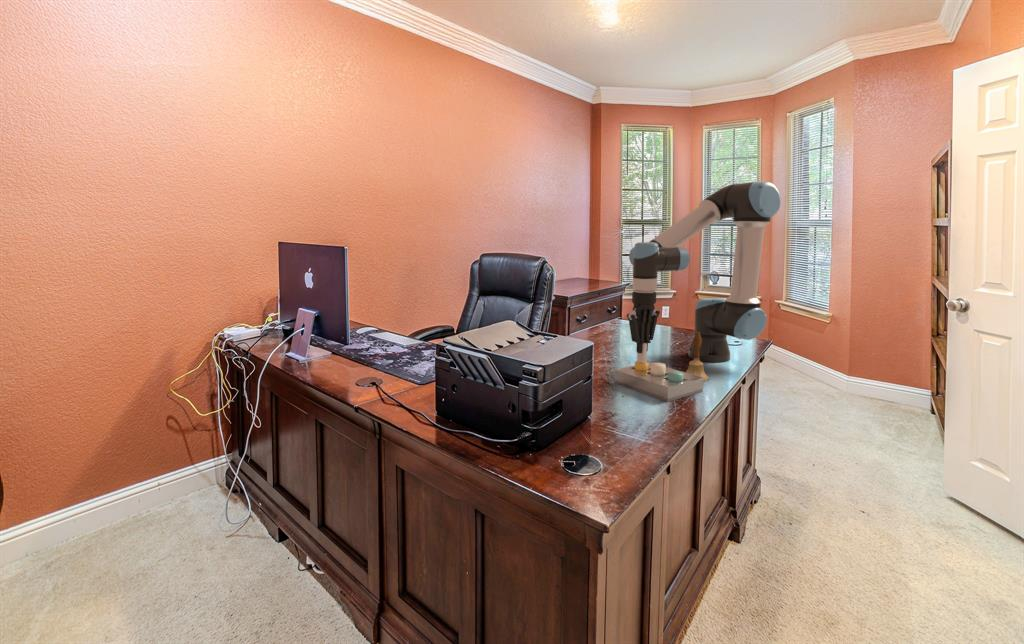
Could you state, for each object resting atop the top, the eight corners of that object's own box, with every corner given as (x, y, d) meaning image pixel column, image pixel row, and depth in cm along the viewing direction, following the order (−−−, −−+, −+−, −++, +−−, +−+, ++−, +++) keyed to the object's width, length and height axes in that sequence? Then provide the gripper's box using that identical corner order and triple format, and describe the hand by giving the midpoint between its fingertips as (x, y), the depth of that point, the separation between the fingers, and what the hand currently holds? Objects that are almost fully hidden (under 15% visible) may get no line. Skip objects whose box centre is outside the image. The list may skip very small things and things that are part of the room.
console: (648, 374, 176) (649, 362, 175) (702, 391, 158) (703, 377, 157) (614, 382, 168) (615, 369, 167) (667, 402, 150) (668, 387, 149)
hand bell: (710, 382, 167) (713, 335, 164) (684, 381, 169) (686, 334, 166) (706, 374, 175) (708, 329, 172) (680, 373, 177) (683, 329, 174)
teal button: (674, 383, 160) (674, 369, 159) (686, 387, 156) (687, 373, 155) (664, 386, 157) (664, 372, 156) (676, 390, 154) (676, 376, 153)
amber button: (640, 373, 171) (641, 360, 171) (651, 376, 168) (651, 363, 167) (631, 375, 169) (631, 362, 168) (641, 378, 165) (642, 365, 164)
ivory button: (657, 375, 165) (657, 361, 165) (668, 378, 162) (668, 365, 161) (647, 377, 163) (647, 364, 162) (658, 381, 159) (658, 367, 158)
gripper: (649, 288, 169) (646, 356, 174) (621, 291, 162) (619, 362, 167) (667, 290, 163) (664, 361, 168) (638, 294, 156) (635, 367, 161)
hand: (641, 362), depth 167 cm, fingers closed
